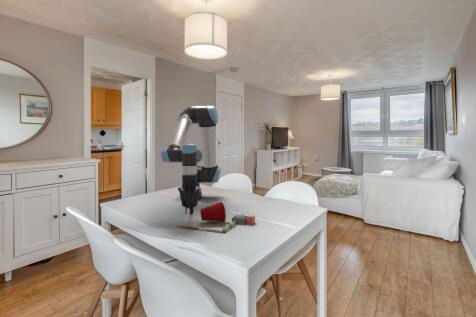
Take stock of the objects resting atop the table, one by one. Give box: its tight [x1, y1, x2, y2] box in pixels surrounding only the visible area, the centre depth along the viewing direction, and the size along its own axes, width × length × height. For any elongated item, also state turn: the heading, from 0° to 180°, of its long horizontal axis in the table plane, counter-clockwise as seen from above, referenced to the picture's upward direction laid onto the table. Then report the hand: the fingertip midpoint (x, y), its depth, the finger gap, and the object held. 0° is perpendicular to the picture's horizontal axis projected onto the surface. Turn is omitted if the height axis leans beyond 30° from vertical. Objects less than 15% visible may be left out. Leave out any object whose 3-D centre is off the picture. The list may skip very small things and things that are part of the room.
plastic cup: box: [200, 200, 227, 222], centre depth 126 cm, size 11×11×12 cm
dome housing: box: [231, 214, 256, 227], centre depth 126 cm, size 7×11×4 cm, turn 69°
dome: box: [235, 212, 246, 219], centre depth 127 cm, size 5×5×5 cm
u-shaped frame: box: [175, 221, 237, 234], centre depth 121 cm, size 15×25×2 cm, turn 69°
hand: (189, 220), depth 124 cm, fingers closed
